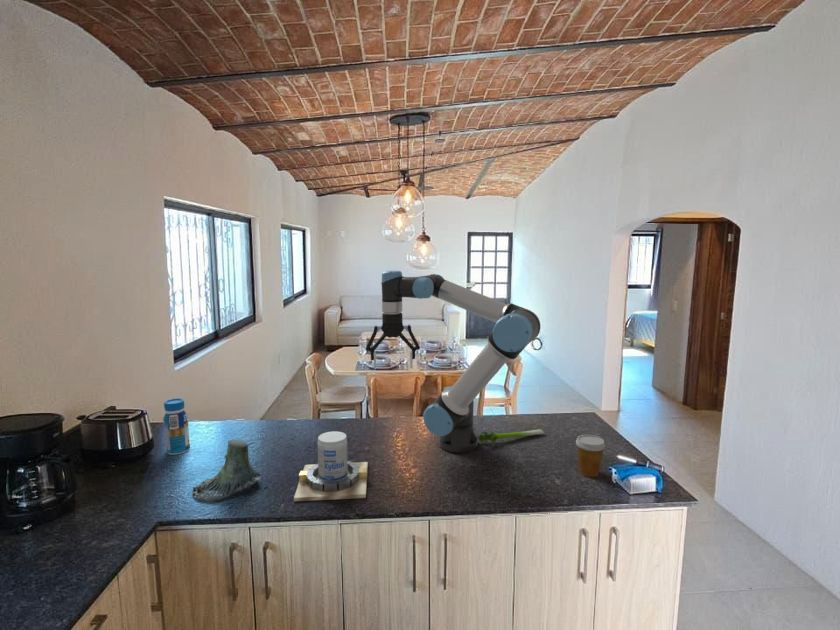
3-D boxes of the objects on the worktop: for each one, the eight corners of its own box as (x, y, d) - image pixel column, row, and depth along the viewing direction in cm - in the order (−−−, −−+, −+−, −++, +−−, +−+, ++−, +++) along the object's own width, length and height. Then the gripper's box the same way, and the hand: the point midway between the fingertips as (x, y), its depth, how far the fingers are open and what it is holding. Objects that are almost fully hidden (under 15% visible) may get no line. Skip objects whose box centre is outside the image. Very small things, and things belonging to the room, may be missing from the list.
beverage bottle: (160, 453, 180) (156, 403, 177) (179, 444, 188) (175, 396, 184) (177, 457, 177) (172, 405, 174) (195, 448, 184) (191, 398, 181)
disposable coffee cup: (603, 468, 165) (604, 436, 164) (604, 481, 157) (606, 447, 155) (574, 464, 169) (576, 432, 167) (574, 477, 160) (575, 443, 158)
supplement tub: (325, 488, 151) (323, 445, 149) (314, 476, 159) (312, 435, 156) (353, 480, 156) (351, 437, 154) (341, 468, 164) (339, 428, 162)
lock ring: (367, 465, 167) (366, 458, 166) (365, 490, 150) (365, 482, 149) (304, 468, 165) (303, 461, 164) (295, 493, 148) (295, 486, 148)
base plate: (367, 465, 169) (367, 461, 169) (365, 497, 148) (365, 494, 147) (305, 467, 167) (305, 464, 167) (294, 501, 146) (293, 497, 146)
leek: (546, 442, 193) (482, 448, 181) (535, 438, 199) (473, 444, 188) (546, 427, 193) (482, 432, 181) (535, 423, 199) (473, 428, 188)
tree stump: (199, 478, 161) (209, 428, 161) (259, 485, 166) (269, 436, 165) (184, 504, 144) (196, 448, 143) (252, 511, 148) (264, 456, 147)
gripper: (424, 310, 180) (425, 364, 184) (358, 311, 178) (360, 366, 182) (426, 313, 173) (426, 369, 176) (358, 314, 171) (359, 371, 174)
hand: (393, 368), depth 179 cm, fingers open, 13 cm apart
